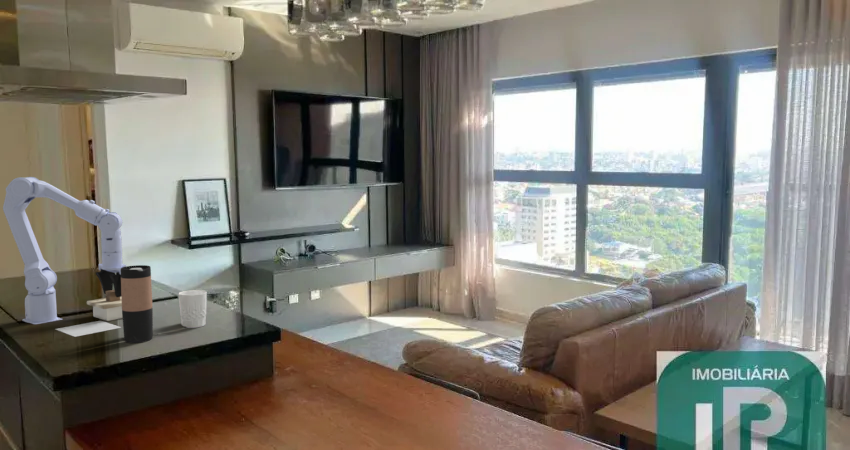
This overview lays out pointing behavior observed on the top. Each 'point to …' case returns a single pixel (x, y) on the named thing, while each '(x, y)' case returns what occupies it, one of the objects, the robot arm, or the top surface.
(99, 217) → the robot arm
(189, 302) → the white cup
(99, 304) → the lid
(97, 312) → the white box
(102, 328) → the mat
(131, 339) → the travel mug
